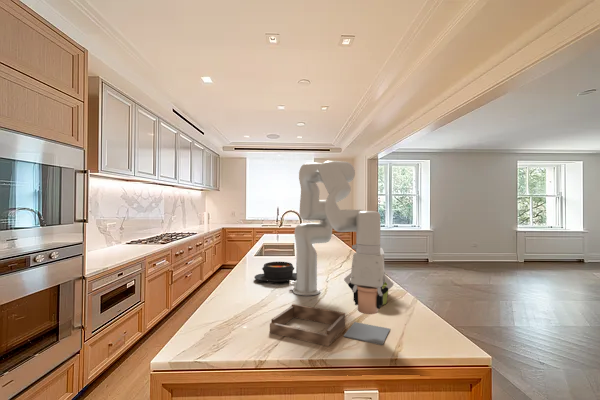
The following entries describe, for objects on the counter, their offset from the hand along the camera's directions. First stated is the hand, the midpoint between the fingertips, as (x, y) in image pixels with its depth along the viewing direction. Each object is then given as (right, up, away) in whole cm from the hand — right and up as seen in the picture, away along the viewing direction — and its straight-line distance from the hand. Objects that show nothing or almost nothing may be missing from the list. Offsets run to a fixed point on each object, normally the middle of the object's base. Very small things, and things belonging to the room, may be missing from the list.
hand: (368, 305), depth 100 cm
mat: (0, -9, 0) cm, 9 cm away
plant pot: (+11, -9, +29) cm, 33 cm away
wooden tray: (-19, -9, +3) cm, 21 cm away
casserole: (-33, -9, +64) cm, 73 cm away
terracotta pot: (0, -2, 0) cm, 2 cm away
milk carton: (+13, -9, +46) cm, 49 cm away
